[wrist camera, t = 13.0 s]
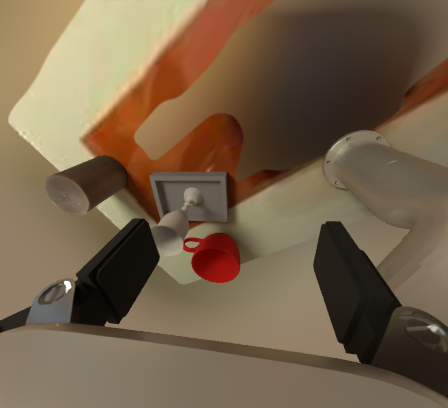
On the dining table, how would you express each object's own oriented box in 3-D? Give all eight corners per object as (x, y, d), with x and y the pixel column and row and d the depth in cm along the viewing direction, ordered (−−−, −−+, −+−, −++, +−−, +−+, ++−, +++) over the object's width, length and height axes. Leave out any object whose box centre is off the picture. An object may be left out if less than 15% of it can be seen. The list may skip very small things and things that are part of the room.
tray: (226, 171, 46) (225, 176, 43) (228, 215, 52) (227, 222, 49) (154, 171, 48) (148, 175, 46) (164, 213, 55) (160, 219, 52)
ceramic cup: (198, 210, 52) (187, 233, 44) (249, 236, 55) (249, 262, 46) (182, 240, 59) (171, 264, 50) (229, 262, 61) (226, 289, 52)
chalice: (202, 211, 51) (180, 260, 36) (178, 203, 51) (146, 249, 35) (208, 188, 47) (186, 232, 32) (182, 180, 47) (148, 220, 32)
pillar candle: (104, 147, 47) (46, 167, 34) (134, 176, 50) (92, 204, 37) (87, 170, 51) (30, 195, 38) (116, 195, 54) (72, 226, 41)
